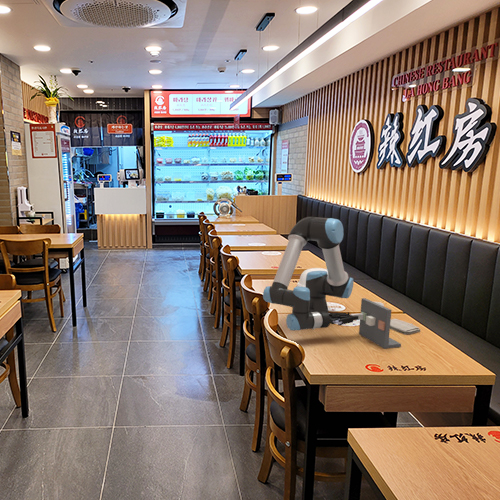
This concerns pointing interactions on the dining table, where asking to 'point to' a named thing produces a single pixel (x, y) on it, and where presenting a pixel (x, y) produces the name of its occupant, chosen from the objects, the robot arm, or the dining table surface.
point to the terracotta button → (381, 325)
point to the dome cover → (303, 276)
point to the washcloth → (403, 327)
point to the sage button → (364, 315)
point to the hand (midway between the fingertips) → (362, 316)
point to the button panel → (373, 331)
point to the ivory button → (370, 320)
